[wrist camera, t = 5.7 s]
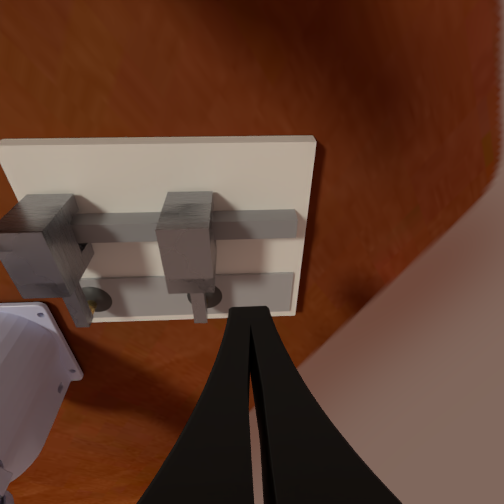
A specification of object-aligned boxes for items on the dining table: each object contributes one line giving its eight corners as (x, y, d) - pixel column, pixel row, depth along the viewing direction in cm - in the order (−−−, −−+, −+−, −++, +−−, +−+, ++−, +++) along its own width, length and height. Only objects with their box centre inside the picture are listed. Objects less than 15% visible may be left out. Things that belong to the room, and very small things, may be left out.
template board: (293, 305, 25) (297, 328, 24) (81, 312, 25) (69, 336, 23) (312, 135, 18) (321, 150, 16) (3, 138, 17) (-24, 154, 15)
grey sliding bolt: (220, 300, 23) (219, 344, 20) (185, 301, 23) (179, 346, 20) (212, 190, 18) (209, 228, 15) (167, 191, 18) (155, 229, 15)
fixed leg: (112, 303, 23) (94, 349, 20) (76, 304, 23) (53, 350, 20) (73, 193, 18) (41, 232, 15) (26, 194, 17) (-15, 233, 15)
